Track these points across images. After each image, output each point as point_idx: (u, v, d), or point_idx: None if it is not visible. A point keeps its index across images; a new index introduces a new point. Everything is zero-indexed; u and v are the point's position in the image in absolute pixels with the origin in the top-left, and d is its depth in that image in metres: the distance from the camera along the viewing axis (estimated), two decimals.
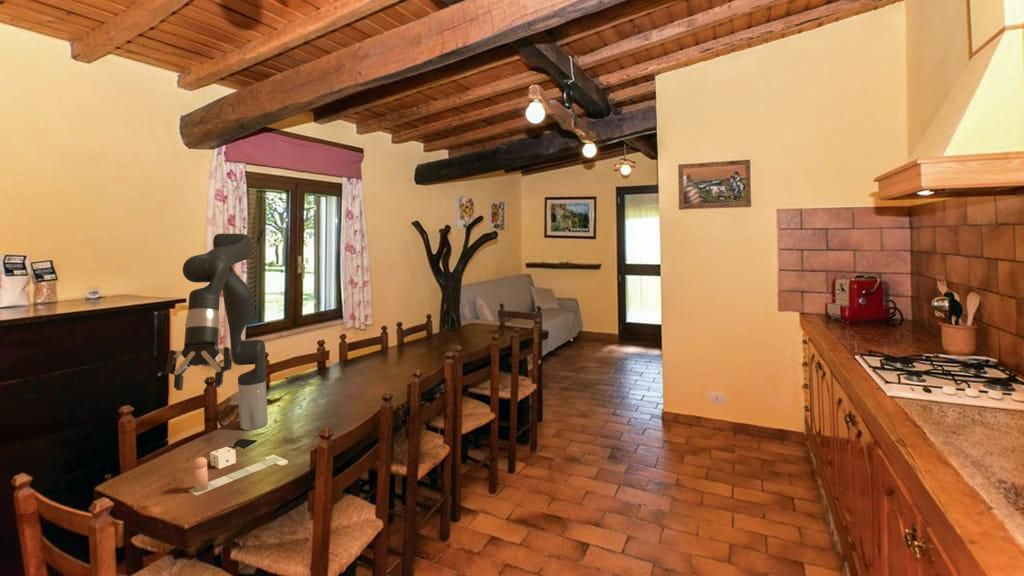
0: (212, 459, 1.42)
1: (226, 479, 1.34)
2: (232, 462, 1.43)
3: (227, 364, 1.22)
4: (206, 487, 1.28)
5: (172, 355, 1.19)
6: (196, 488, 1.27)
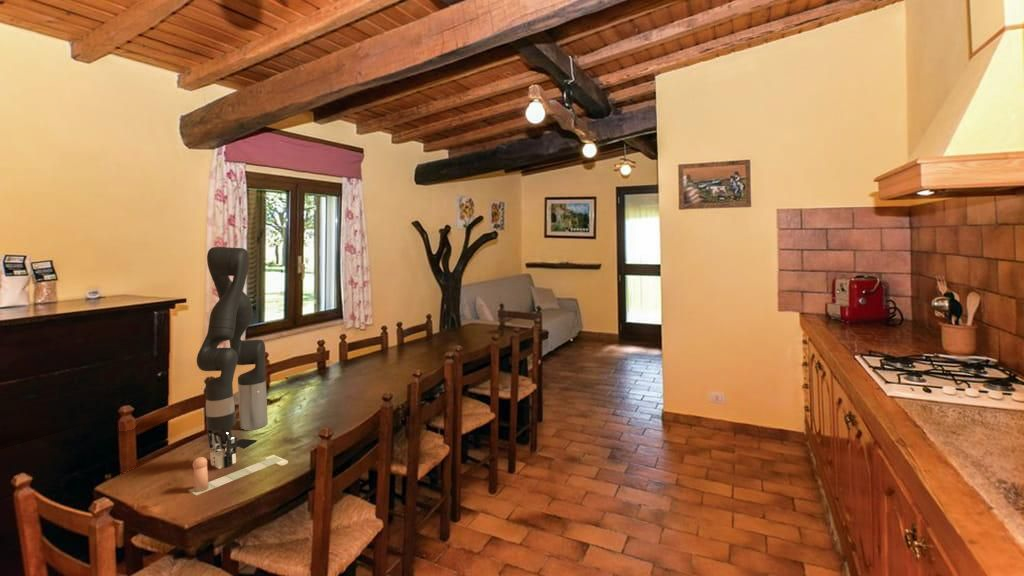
0: (212, 459, 1.42)
1: (226, 479, 1.34)
2: (232, 462, 1.43)
3: (227, 452, 1.39)
4: (206, 487, 1.28)
5: (208, 434, 1.45)
6: (196, 488, 1.27)
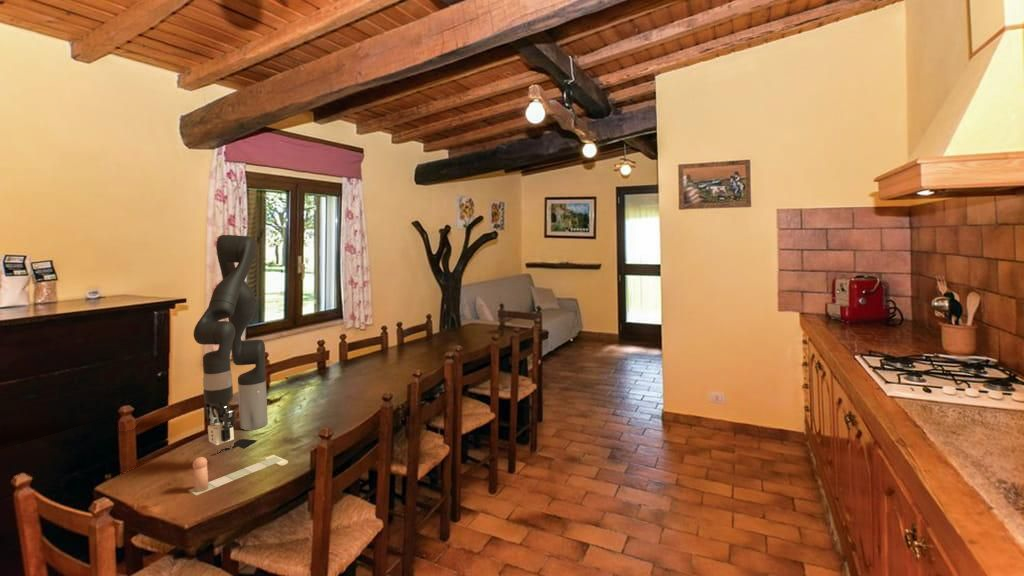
0: (210, 432, 1.41)
1: (226, 479, 1.34)
2: (230, 436, 1.43)
3: (225, 426, 1.39)
4: (206, 487, 1.28)
5: (206, 407, 1.44)
6: (196, 488, 1.27)
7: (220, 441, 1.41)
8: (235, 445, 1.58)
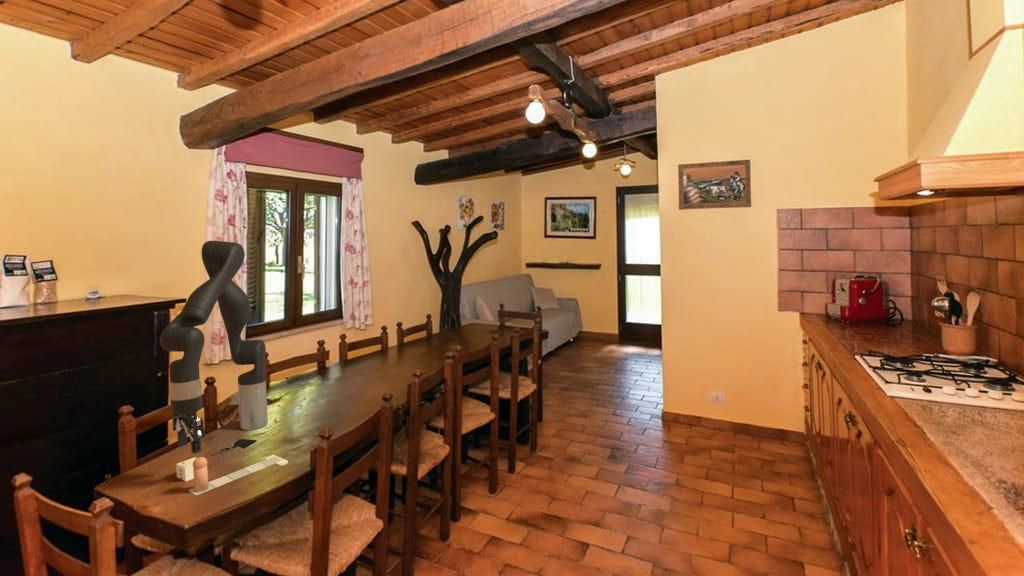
0: (178, 471, 1.34)
1: (226, 479, 1.34)
2: None
3: (194, 436, 1.30)
4: (206, 487, 1.28)
5: (173, 416, 1.37)
6: (196, 488, 1.27)
7: None
8: (235, 445, 1.58)
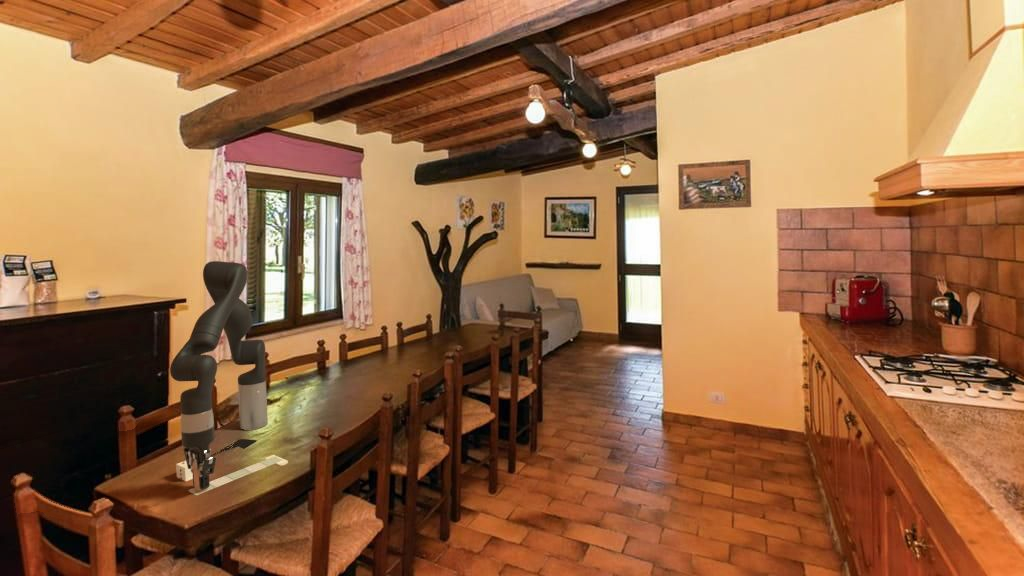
0: (178, 471, 1.34)
1: (226, 479, 1.34)
2: None
3: (203, 473, 1.24)
4: None
5: (185, 453, 1.29)
6: (196, 488, 1.27)
7: None
8: (235, 445, 1.58)
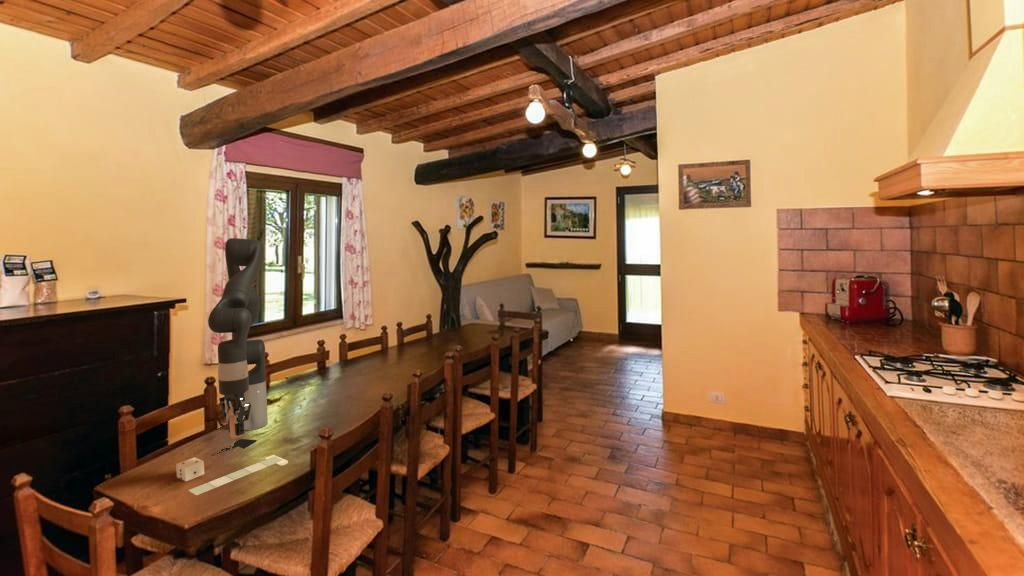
0: (178, 471, 1.34)
1: (226, 479, 1.34)
2: (200, 474, 1.36)
3: (239, 419, 1.32)
4: None
5: (221, 402, 1.37)
6: (232, 434, 1.34)
7: None
8: (235, 445, 1.58)
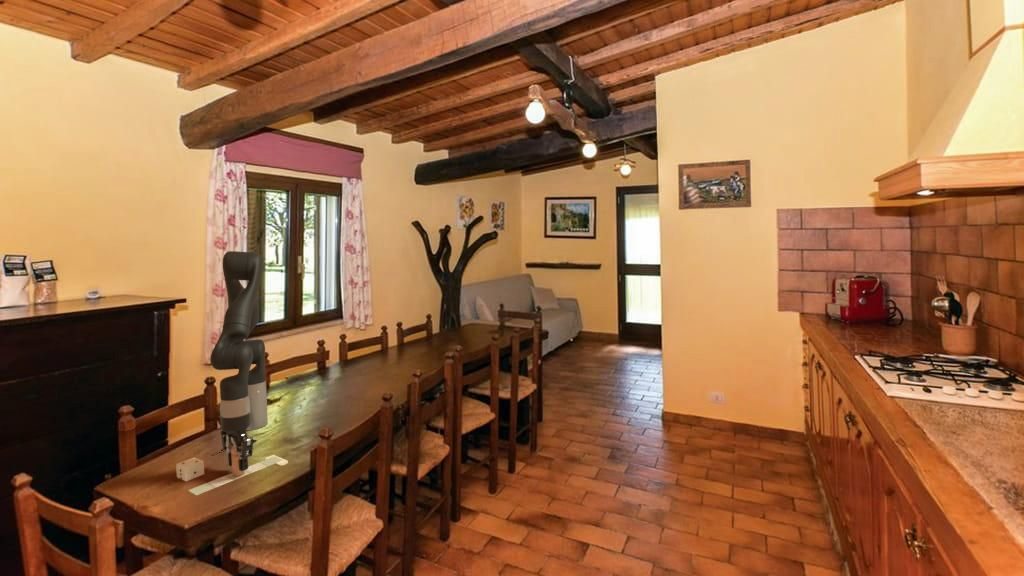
0: (178, 471, 1.34)
1: (226, 479, 1.34)
2: (200, 474, 1.36)
3: (243, 455, 1.32)
4: (243, 472, 1.36)
5: (222, 435, 1.38)
6: (234, 473, 1.35)
7: None
8: None
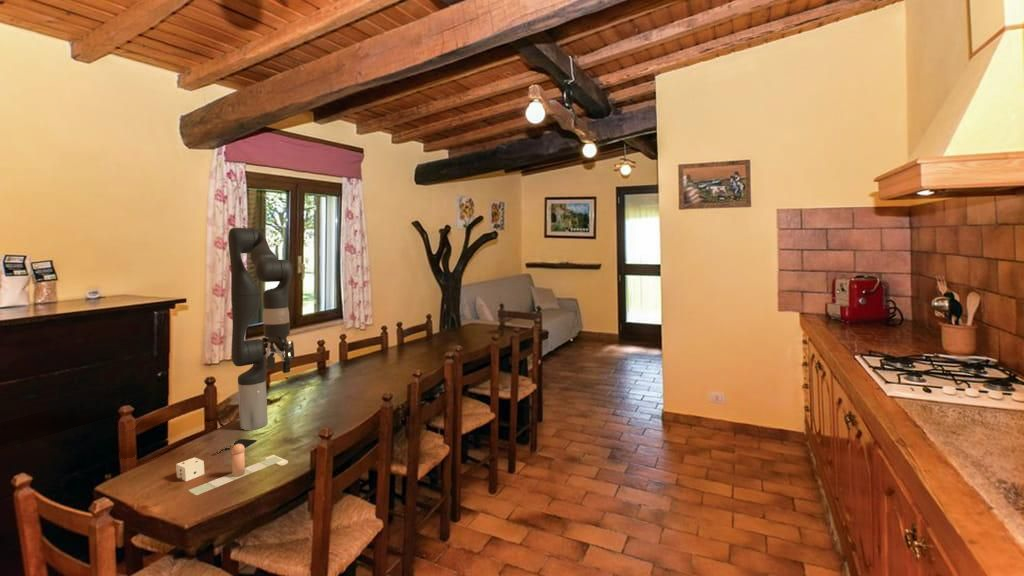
0: (178, 471, 1.34)
1: (226, 479, 1.34)
2: (200, 474, 1.36)
3: (286, 356, 1.45)
4: (243, 472, 1.36)
5: (263, 342, 1.51)
6: (234, 473, 1.35)
7: None
8: None
